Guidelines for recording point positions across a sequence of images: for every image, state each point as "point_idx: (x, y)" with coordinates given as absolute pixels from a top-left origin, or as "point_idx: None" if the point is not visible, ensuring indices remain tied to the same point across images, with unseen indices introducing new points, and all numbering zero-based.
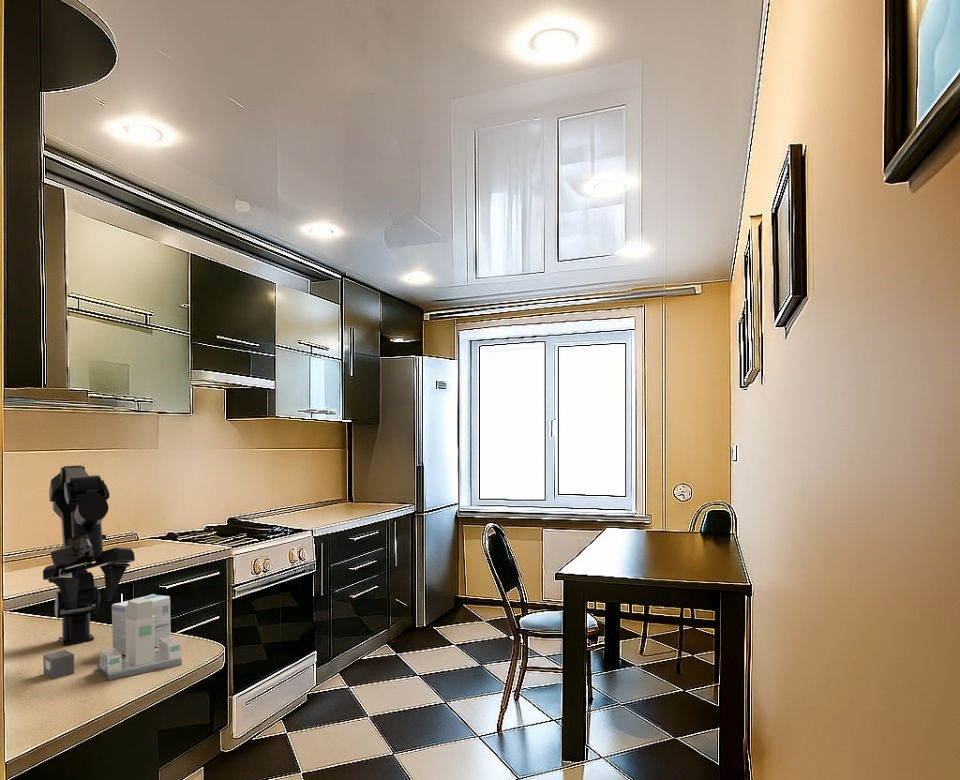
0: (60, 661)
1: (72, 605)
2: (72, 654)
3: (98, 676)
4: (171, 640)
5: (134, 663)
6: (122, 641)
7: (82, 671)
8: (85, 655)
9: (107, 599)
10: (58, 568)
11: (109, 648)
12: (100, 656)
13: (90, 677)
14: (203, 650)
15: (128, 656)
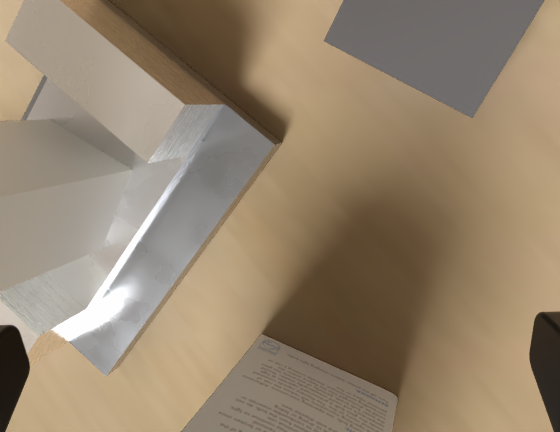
0: None
1: (554, 358)
2: (330, 34)
3: (191, 40)
4: None
5: (54, 126)
6: (290, 384)
7: (327, 92)
8: (523, 344)
9: (6, 325)
10: None
11: (146, 134)
12: (186, 92)
13: (217, 18)
14: (19, 405)
15: (91, 158)
